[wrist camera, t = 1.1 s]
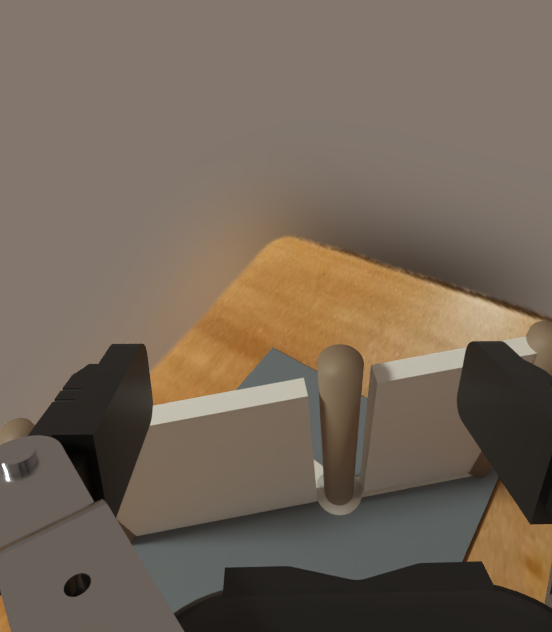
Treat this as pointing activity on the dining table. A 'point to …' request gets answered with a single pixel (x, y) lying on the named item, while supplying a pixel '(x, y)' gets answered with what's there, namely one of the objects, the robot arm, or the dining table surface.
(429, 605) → the robot arm
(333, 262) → the dining table surface
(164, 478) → the fence panel
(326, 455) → the fence fixed
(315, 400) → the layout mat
